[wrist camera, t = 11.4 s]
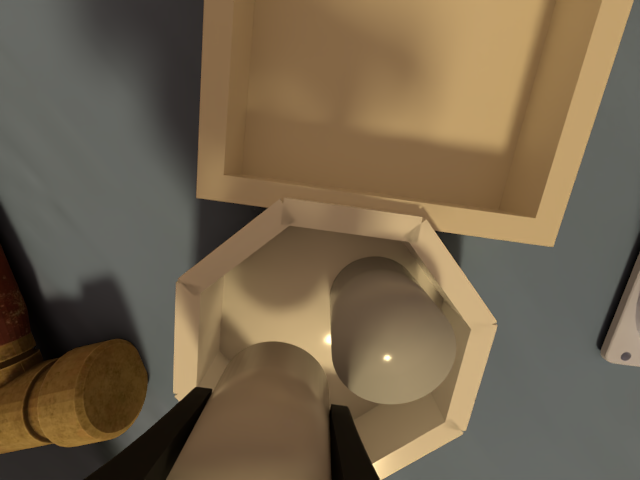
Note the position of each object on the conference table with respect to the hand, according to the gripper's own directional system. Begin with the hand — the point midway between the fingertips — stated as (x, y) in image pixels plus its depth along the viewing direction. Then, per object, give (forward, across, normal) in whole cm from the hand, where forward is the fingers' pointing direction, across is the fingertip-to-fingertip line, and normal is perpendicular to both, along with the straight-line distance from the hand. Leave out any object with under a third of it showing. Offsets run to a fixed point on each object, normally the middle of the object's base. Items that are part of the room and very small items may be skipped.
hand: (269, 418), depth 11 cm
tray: (+5, -3, -15) cm, 16 cm away
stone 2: (+5, -4, -3) cm, 7 cm away
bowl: (+5, -2, -2) cm, 6 cm away
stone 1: (+1, 0, 0) cm, 1 cm away
